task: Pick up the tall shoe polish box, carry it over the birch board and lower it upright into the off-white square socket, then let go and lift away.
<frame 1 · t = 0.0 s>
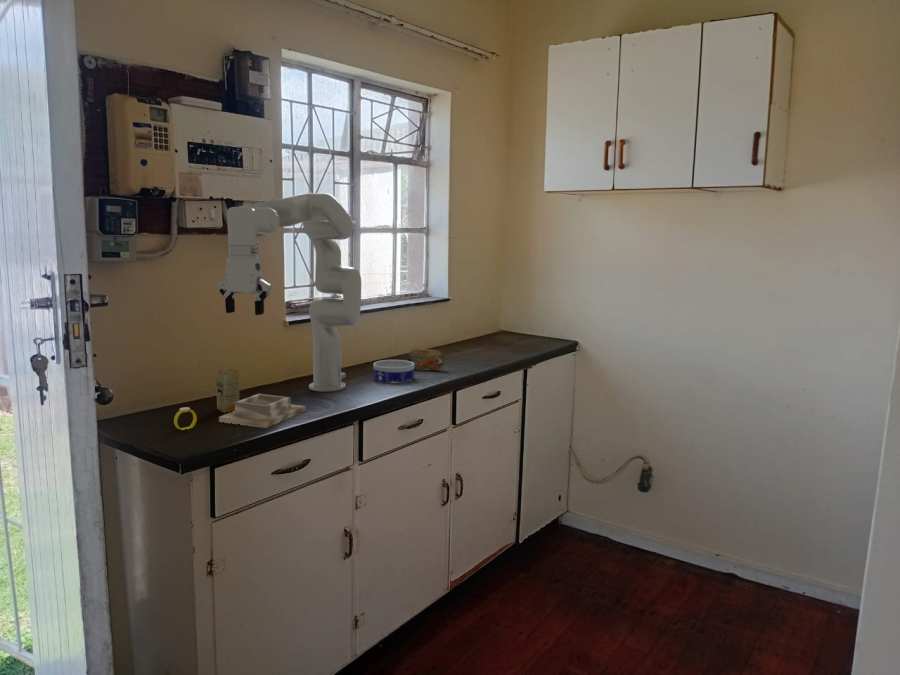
hand: (244, 313, 191), 31 cm above the counter, tool pointing down, fingers open, 9 cm apart
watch: (185, 429, 188), on the counter
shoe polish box: (228, 410, 208), on the counter
dog bowl: (393, 379, 255), on the counter
socket board: (263, 416, 202), on the counter
food package: (426, 370, 272), on the counter
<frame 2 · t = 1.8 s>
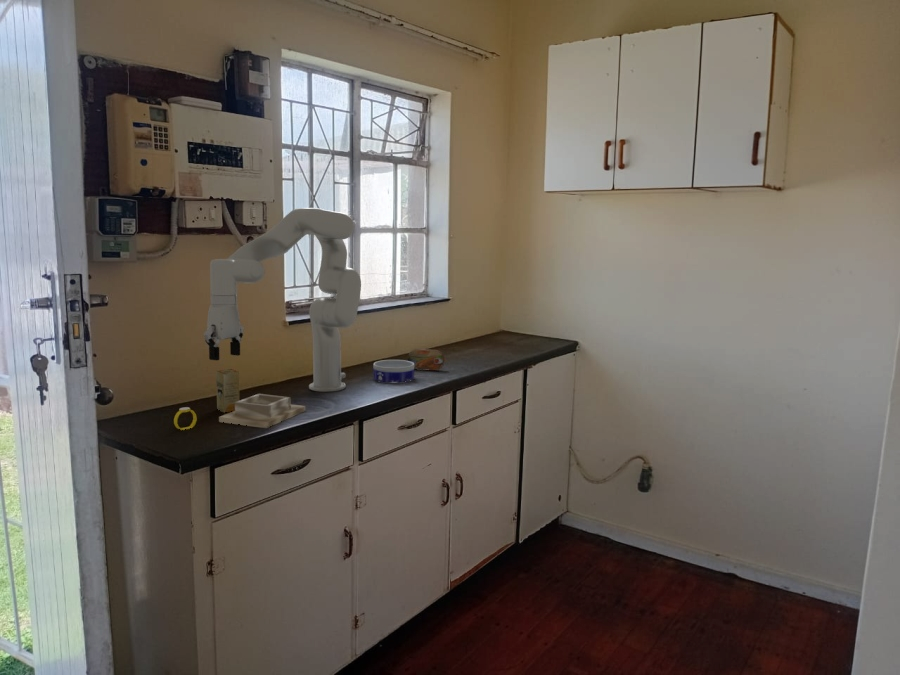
hand: (225, 357, 205), 16 cm above the counter, tool pointing down, fingers open, 9 cm apart
nothing on the counter moved.
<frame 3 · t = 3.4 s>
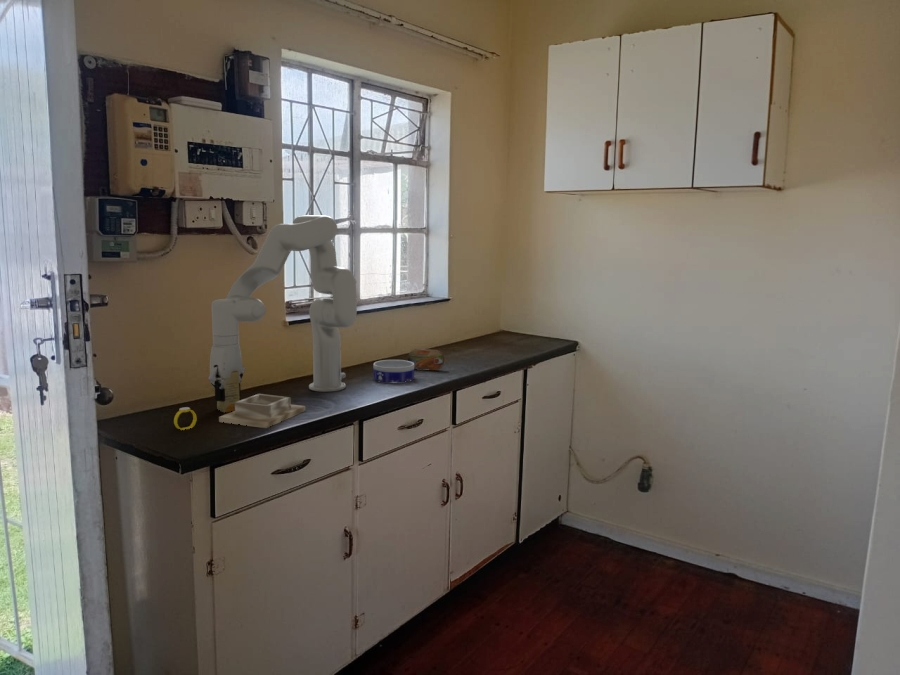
hand: (228, 397, 207), 4 cm above the counter, tool pointing down, fingers closed on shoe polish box, 6 cm apart
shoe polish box: (228, 410, 208), on the counter, touching gripper
everything else where it was.
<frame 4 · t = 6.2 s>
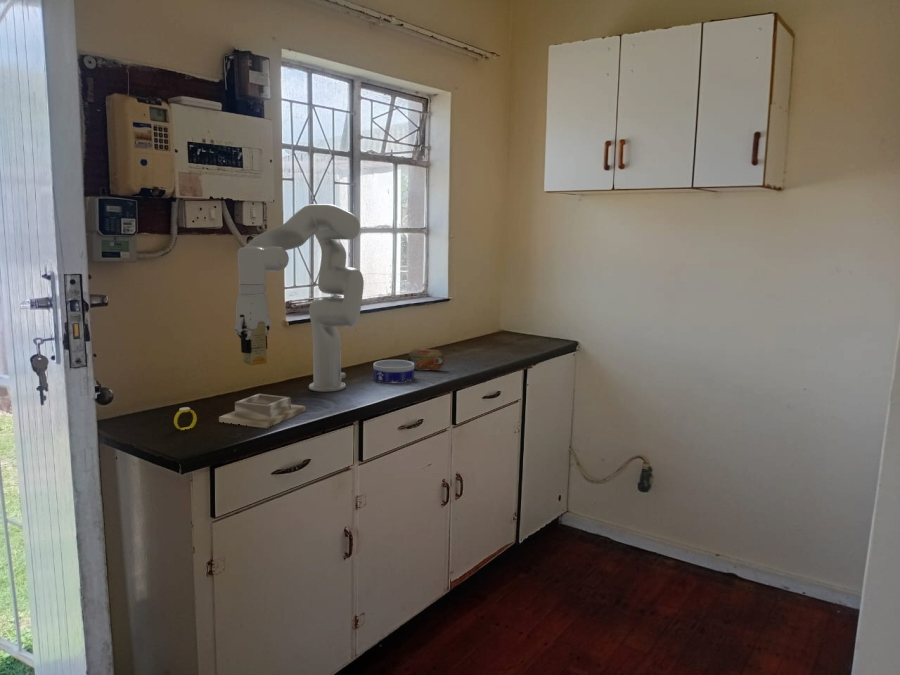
hand: (254, 350, 200), 20 cm above the counter, tool pointing down, fingers closed on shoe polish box, 6 cm apart
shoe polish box: (254, 363, 201), point 16 cm above the counter, touching gripper
everything else where it was.
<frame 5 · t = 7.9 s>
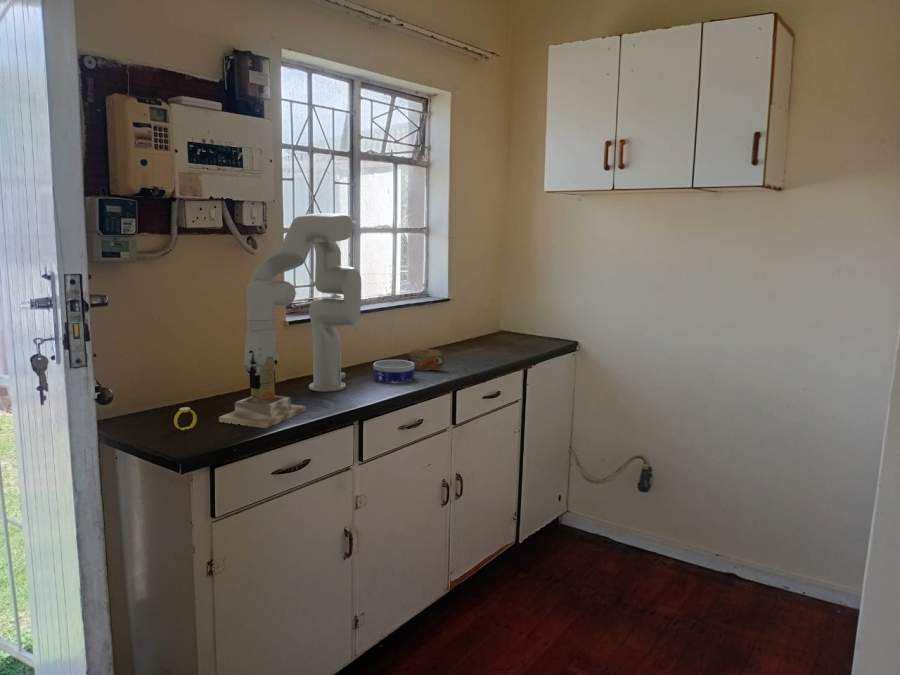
hand: (262, 385, 200), 9 cm above the counter, tool pointing down, fingers closed on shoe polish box, 6 cm apart
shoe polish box: (263, 398, 201), point 5 cm above the counter, touching gripper
everything else where it was.
when the fingers open (6 cm above the counter, at t = 9.0 s): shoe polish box stays where it is, resting on socket board.
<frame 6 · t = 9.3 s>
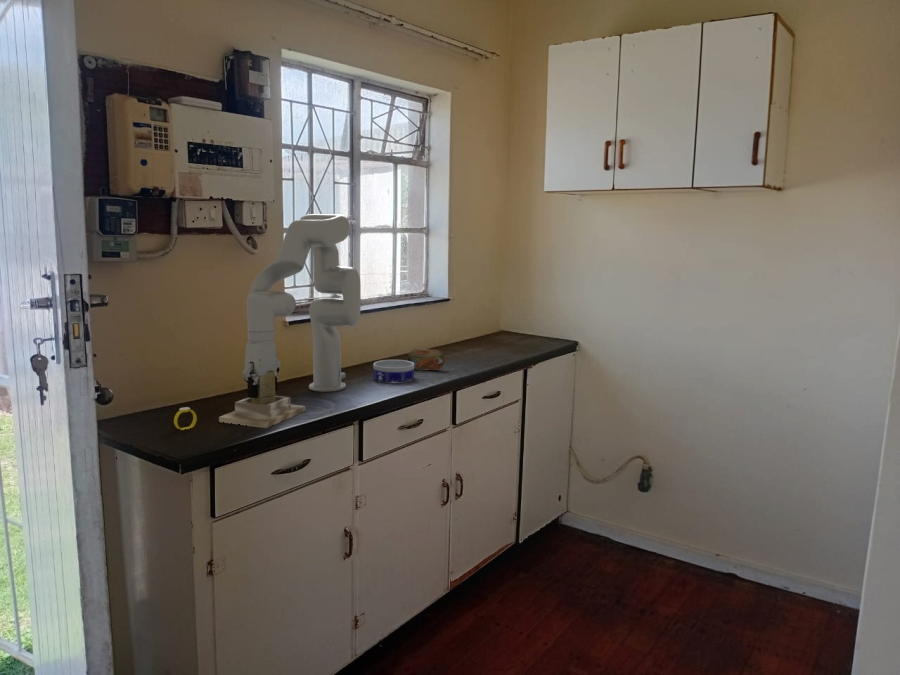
hand: (263, 394, 201), 7 cm above the counter, tool pointing down, fingers open, 9 cm apart
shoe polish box: (264, 411, 202), point 1 cm above the counter, touching socket board
everything else where it was.
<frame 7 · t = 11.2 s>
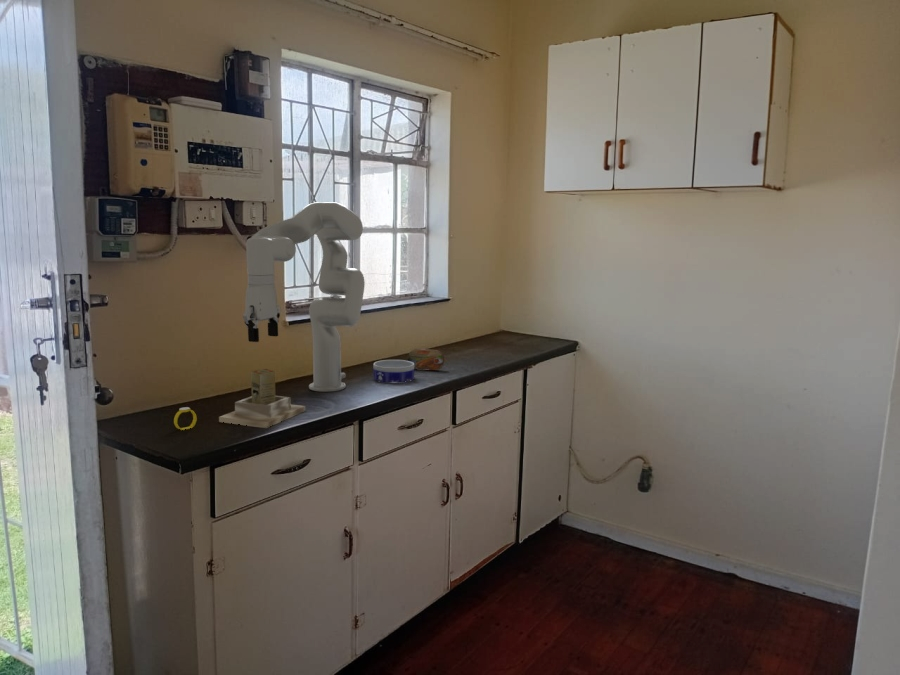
hand: (263, 338, 200), 23 cm above the counter, tool pointing down, fingers open, 9 cm apart
nothing on the counter moved.
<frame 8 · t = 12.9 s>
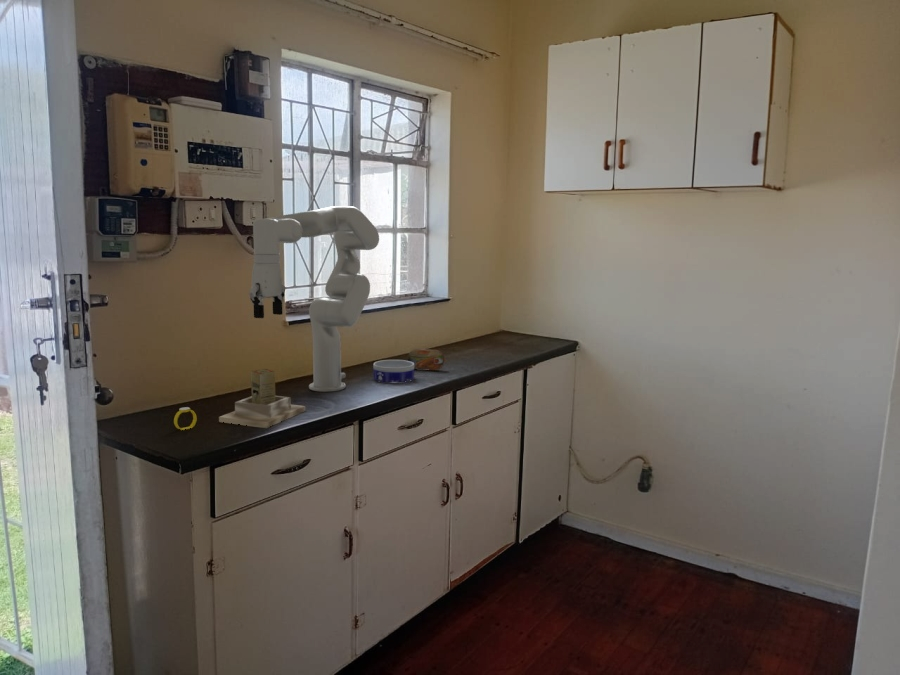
hand: (268, 316, 209), 28 cm above the counter, tool pointing down, fingers open, 9 cm apart
nothing on the counter moved.
at the end: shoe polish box 0.3 cm off-centre on the socket board, point 1.3 cm above the socket board's base; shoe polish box tilted 0°; the gripper is holding nothing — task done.
